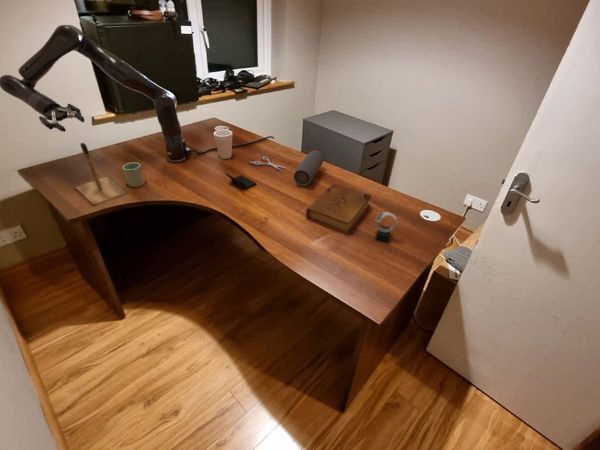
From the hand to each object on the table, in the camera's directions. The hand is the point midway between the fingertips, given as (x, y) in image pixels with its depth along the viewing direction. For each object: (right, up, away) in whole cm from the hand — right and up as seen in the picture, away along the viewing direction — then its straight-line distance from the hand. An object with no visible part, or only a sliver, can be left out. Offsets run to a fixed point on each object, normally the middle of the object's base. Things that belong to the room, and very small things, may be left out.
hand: (74, 125), depth 135 cm
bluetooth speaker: (+97, -17, +28) cm, 102 cm away
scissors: (+77, -10, +36) cm, 86 cm away
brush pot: (+17, -22, +18) cm, 33 cm away
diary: (+109, -36, +4) cm, 115 cm away
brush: (+4, -25, +12) cm, 28 cm away
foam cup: (+52, -4, +44) cm, 68 cm away
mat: (+4, -26, +12) cm, 29 cm away
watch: (+124, -46, -8) cm, 133 cm away
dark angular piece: (+65, -22, +21) cm, 71 cm away
